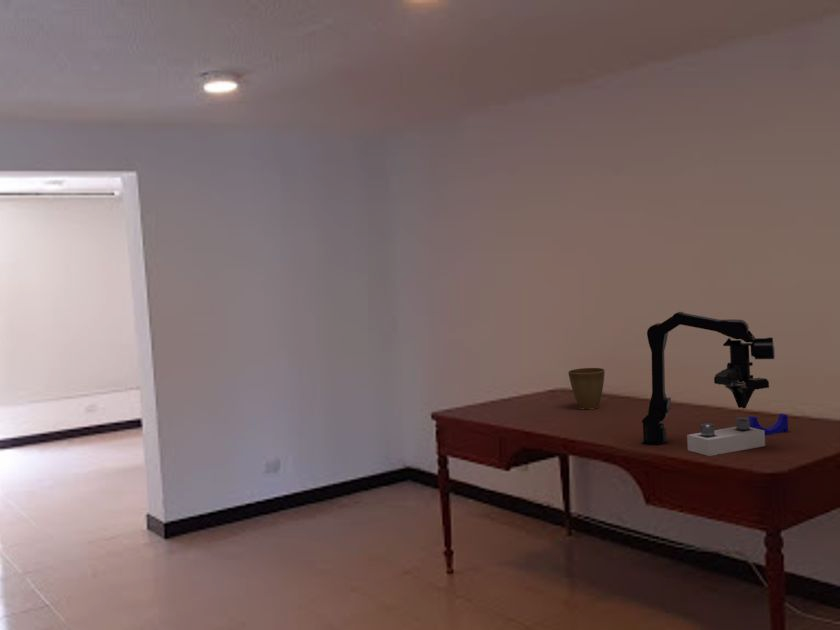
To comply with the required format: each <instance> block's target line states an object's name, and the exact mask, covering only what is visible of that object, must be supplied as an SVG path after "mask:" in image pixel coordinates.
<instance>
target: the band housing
mask: <svg viewBox="0 0 840 630" xmlns="http://www.w3.org/2000/svg"><path fill="white" fill-rule="evenodd" d="M714 432H715V437H710V438H705V437H701V432H697V433H690V434H687V435H686V437H687V438H686V439H687V442H686V443H687V451H689V452H693V453H697V454H700V455H702V456H704V455H705V456H707V457H713V456H718V454H719V455H722V454H723V455H724V454H729V453H733V452H734V453H735V452H740V451H745V450H750V449H757V448H762V447H766V435H765V432H764V430H760V429H755V428H751V427H750V431H744V432H741V431H737V430H736V426H731V427H726V428H720V429H714Z"/></svg>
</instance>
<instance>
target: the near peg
mask: <svg viewBox="0 0 840 630" xmlns="http://www.w3.org/2000/svg"><path fill="white" fill-rule="evenodd" d="M714 430H715V423H701V424H700V433H701V437H705V438H710V437H715V432H714Z"/></svg>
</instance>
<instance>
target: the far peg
mask: <svg viewBox="0 0 840 630" xmlns="http://www.w3.org/2000/svg"><path fill="white" fill-rule="evenodd" d="M735 425H736V426H735V427H736V430H737V431H741V432H744V431H750V423H749V417H736V418H735Z"/></svg>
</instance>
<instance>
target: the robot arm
mask: <svg viewBox="0 0 840 630" xmlns="http://www.w3.org/2000/svg"><path fill="white" fill-rule="evenodd" d="M678 326H686V327H692V328H696V329H702V330H706V331H712V332H717V333H719V334H720V335H721V334H722V335H724V336H726V337H728V338H727V340H726V341H725V342H724V343H723V344H722V345H723V347H729V355H730V356H729V357H730V358H729V359H730V362H727V364H726V368H725V369H723V370H720V371H719V372H718V373H716V374H714V379H713V381H714V384H716V385H722V386H724V387H725V388H726V389H728V390H729V391H731V393H732V395H733V398H734V399H735V402H736V405H737V408H739V409H746V408H747V406H748V404H749V402H750V400H751V397H752V395H753V394H754V392H755V391H756V390H763V389H768V388H770V381H769V379H767V378H763V377H756V378H755V377H754V375H753V374H751V368H750V367H753V366H754V365H753V362H752V361H750V356H751V357H752V358H754V359H755V360H775V346H774V338H773V337H770V336H769V337H763V338H762V337H761V338H760V337H759V338H756V336H755V335H754V334H753V333H752V332H751V331H750V330H749V329H750V328H749V327H750V326H749V324H748V323H747V322H746V321H745V320H743V319H718V318H713V317H706V316H701V315H696V314H690V313H686V312H683V311H677V312H675V313H674V314H673V315H672V316H671V317H669V318H667V319H665V320H664V321H662V323H660V322H657V323H655V324H653V325H650V327H648V328H647V331H646V335H647V336H646V337H647V341H648V346H649V348H650V352H651V392H652V393H651V397H650V399H649V400H650V401H649V404H648V405H649V406H648V411H647V414H646V415H645V417H644V418H643V419H642V420H641V423H642V431H643V432H642V433H643V440H642V441H641V444H647V445H648V444H649V445H661V444H664V443H666V442H667V441H668V439H667V429H666V427H665V423H663V421H664V419H666V417H667V416H669V413H670V412H671V410H672V407H671V401H672V398H671V397H667V395H666V384H665V382H666V378H665V372H666V371H665V369H666V367H665V351H666V345H667V341H668V336H669V332H671V331H672V330H674V329H675V328H677V327H678ZM732 339H733V340H732ZM734 339H735V340H734ZM742 341H743V342H742ZM750 354H751V355H750Z"/></svg>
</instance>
